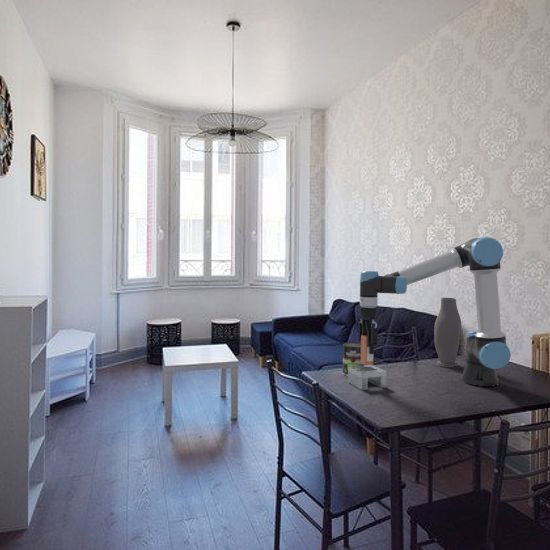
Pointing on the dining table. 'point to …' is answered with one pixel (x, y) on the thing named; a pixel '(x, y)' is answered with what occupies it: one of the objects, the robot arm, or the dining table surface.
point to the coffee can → (351, 356)
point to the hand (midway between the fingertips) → (367, 359)
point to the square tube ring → (366, 376)
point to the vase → (447, 333)
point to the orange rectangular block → (364, 350)
